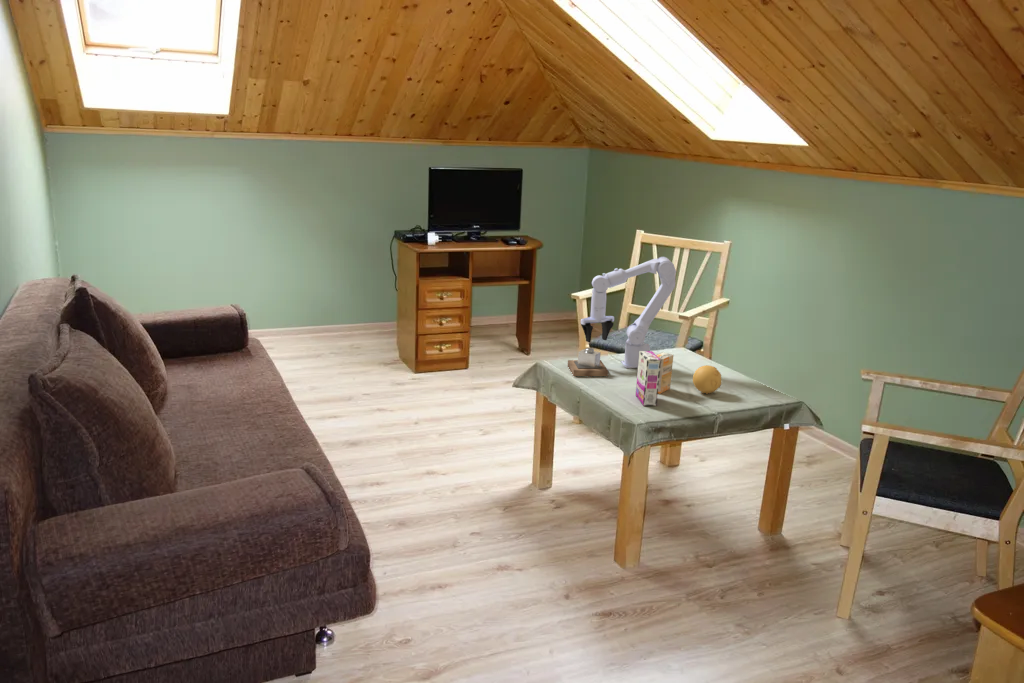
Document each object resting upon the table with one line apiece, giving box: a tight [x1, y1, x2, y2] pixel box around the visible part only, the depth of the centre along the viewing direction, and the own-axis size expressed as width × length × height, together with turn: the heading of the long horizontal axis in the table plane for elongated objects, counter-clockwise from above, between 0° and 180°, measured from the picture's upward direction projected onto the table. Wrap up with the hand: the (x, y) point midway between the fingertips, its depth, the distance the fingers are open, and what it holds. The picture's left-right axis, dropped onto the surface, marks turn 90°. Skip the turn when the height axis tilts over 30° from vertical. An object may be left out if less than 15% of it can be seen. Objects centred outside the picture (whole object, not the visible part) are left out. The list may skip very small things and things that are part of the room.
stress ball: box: [692, 365, 722, 395], centre depth 282 cm, size 10×10×10 cm
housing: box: [577, 347, 601, 368], centre depth 301 cm, size 5×9×6 cm, turn 58°
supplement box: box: [655, 352, 675, 395], centre depth 282 cm, size 8×5×13 cm, turn 143°
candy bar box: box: [635, 350, 661, 407], centre depth 271 cm, size 11×5×16 cm, turn 5°
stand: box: [567, 359, 609, 378], centre depth 302 cm, size 13×13×3 cm
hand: (596, 340), depth 310 cm, fingers open, 7 cm apart
